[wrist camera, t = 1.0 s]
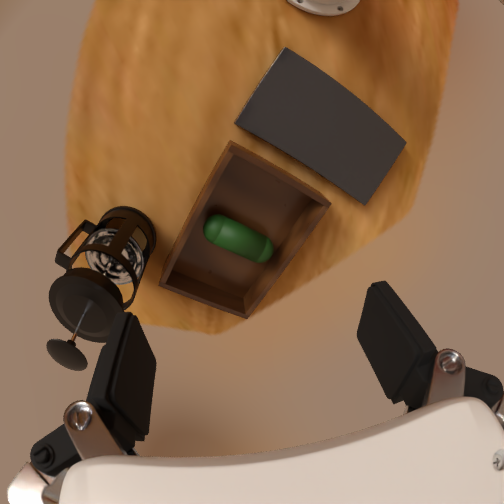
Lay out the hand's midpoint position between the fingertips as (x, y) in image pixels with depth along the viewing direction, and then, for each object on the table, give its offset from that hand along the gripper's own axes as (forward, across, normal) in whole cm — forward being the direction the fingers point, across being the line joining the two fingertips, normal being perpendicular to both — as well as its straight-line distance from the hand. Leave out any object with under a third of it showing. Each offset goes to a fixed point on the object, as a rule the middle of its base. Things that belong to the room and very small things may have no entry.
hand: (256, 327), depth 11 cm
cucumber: (+28, -1, +9) cm, 29 cm away
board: (+28, -14, -5) cm, 32 cm away
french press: (+29, +16, +8) cm, 34 cm away
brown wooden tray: (+28, -1, +9) cm, 30 cm away
